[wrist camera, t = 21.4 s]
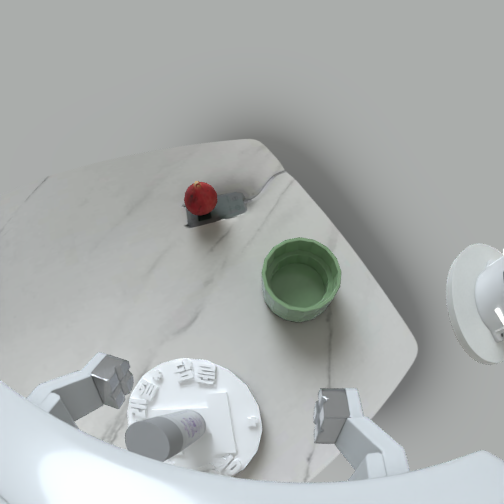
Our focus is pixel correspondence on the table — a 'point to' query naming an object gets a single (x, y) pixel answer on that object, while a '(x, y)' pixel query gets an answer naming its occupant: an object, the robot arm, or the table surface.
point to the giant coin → (203, 412)
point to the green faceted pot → (300, 279)
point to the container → (165, 434)
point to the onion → (200, 198)
